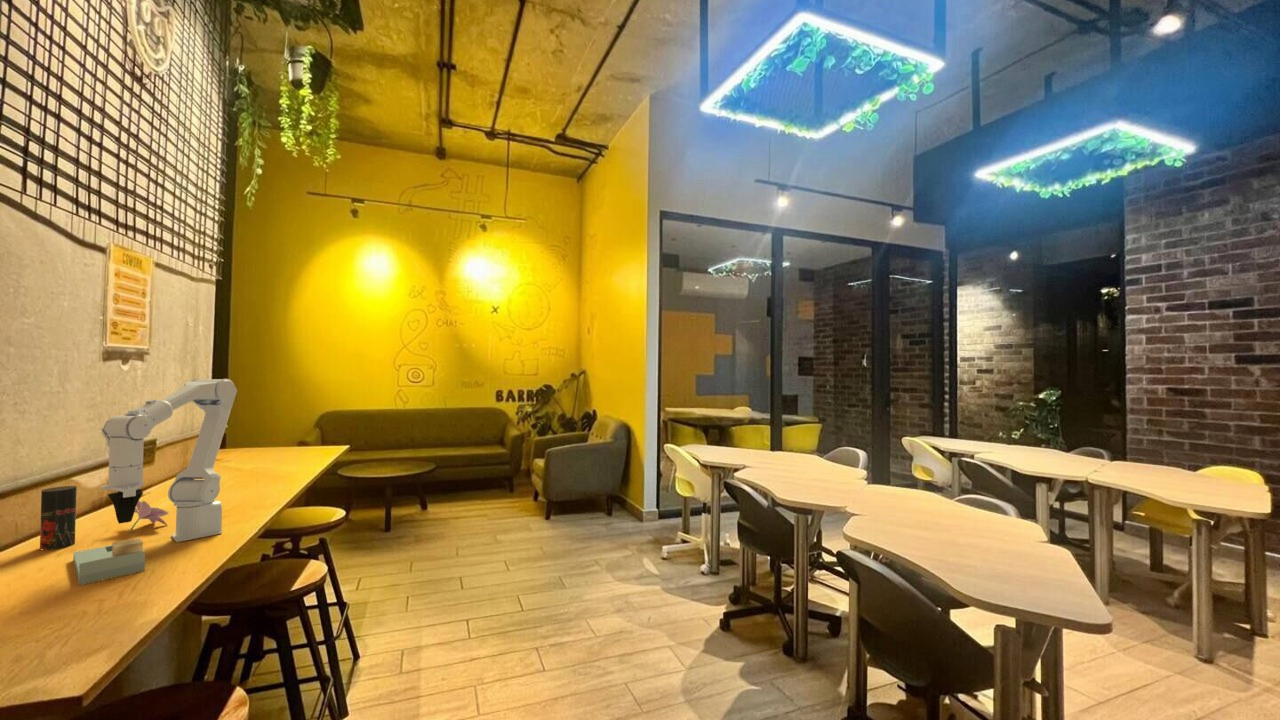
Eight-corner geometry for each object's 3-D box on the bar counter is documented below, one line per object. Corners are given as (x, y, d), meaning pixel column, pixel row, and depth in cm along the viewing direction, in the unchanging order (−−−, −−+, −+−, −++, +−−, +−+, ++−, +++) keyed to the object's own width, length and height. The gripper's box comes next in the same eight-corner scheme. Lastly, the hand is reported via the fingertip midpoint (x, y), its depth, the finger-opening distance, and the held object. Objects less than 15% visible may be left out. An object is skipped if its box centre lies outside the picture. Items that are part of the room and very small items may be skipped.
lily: (167, 534, 140) (183, 501, 145) (112, 527, 133) (131, 492, 137) (156, 539, 147) (172, 507, 152) (103, 533, 139) (122, 499, 144)
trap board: (132, 548, 127) (132, 531, 127) (144, 570, 114) (145, 551, 114) (73, 560, 119) (73, 541, 119) (79, 585, 106) (79, 564, 106)
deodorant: (80, 543, 130) (81, 487, 130) (47, 551, 124) (49, 492, 125) (67, 541, 132) (69, 485, 132) (34, 548, 126) (36, 490, 126)
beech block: (139, 556, 117) (139, 537, 117) (142, 561, 114) (142, 542, 114) (111, 562, 113) (112, 542, 114) (113, 567, 111) (114, 547, 111)
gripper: (98, 463, 119) (97, 519, 119) (104, 472, 110) (103, 533, 110) (139, 459, 125) (138, 513, 125) (148, 467, 116) (147, 525, 116)
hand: (124, 522), depth 118 cm, fingers closed
